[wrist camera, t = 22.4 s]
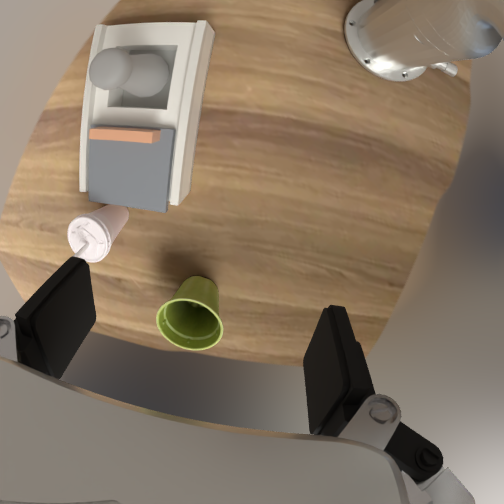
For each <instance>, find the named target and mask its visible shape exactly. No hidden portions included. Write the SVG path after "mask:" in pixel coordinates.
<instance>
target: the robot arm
mask: <svg viewBox="0 0 504 504" xmlns="http://www.w3.org/2000/svg"><path fill="white" fill-rule="evenodd" d="M349 23H351V24H352V26H351V25H350V24H349ZM344 33H345V38H346V42H347V45H348V47H349V49H350V51H351V53H352V54H353V56H354V57H355V59H356V60H357V61H358V62H359V63H360V64H361V65H362V66H363V67H364V68H365V69H366V70H368V71H369V72H371V73H372V74H374V75H375V76H378V77H380V78H382V79H385V80H389V81H397V82H400V81H407V80H412V79H414V78H416V77H418V76H420V75H421V74H422V73H423V72H424V71H425V70H426V68H427V67H430V68H432V69H435V68H438V69H440V70H441V71H442V72H444V73H446V74H448V75H450V76H452V77H454V76H455V75H456V73H457V66H456V65H455V64H453V63H451V61H459V60H467V59H476V58H481V57H484V56H486V55H488V54H490V53H491V52H492V51H493V50H494V49H496V48H497V46H498V45H499V43H500V42H501V40H502V38H503V40H504V0H362V1H360V2H358V3H357V4H356V5H355V6H354V7H353V8H352V9H351V10H350V11H349V13H348V15H347V17H346V20H345V24H344ZM364 60H366V61H367V63H365V62H364ZM402 74H403V75H404V77H403V76H402ZM15 316H16V319H15V320H14V321H13V320H12V319H11V318H9V317H6V316H0V504H475V500H474V498H473V496H472V495H471V493H470V492H469V491H468V490H467V489H466V488H465V486H464V485H463V484H462V483H461V482H460V481H459V480H458V479H457V477H456V476H455V475H454V474H453V473H452V472H451V470H450V469H449V468H448V467H447V468H446V469H444V467H443V466H442V465H443V456H442V453H441V451H440V450H439V448H438V447H437V446H435V445H434V444H433V443H431V442H430V441H428V440H427V439H425V438H424V437H422V436H421V435H419V434H418V433H416V432H415V431H413V430H412V429H410V428H409V427H408V426H406V425H405V424H403V423H402V422H400V419H401V410H400V407H399V405H398V404H397V403H396V402H395V401H394V400H393V399H392V398H390V397H388V396H386V395H382V394H375V391H374V387H373V384H372V380H371V377H370V374H369V370H368V367H367V364H366V360H365V357H364V354H363V351H362V347H361V345H360V343H359V342H357V341H356V340H355V336H354V333H353V330H352V327H351V324H350V321H349V318H348V315H347V312H346V309H345V307H342V306H335V305H330V306H329V307H328V308H324V309H323V312H322V314H321V317H320V319H319V322H318V324H317V327H316V329H315V332H314V334H313V337H312V339H311V341H310V344H309V346H308V349H307V351H306V353H305V356H304V360H303V366H304V375H305V386H306V396H307V406H308V418H309V430H310V434H314V435H310V434H296V433H284V432H274V431H264V430H255V429H247V428H239V427H232V426H225V425H219V424H213V423H207V422H202V421H197V420H192V419H187V418H183V417H178V416H173V415H169V414H165V413H161V412H157V411H153V410H149V409H145V408H141V407H138V406H134V405H131V404H127V403H124V402H120V401H117V400H114V399H111V398H108V397H105V396H102V395H99V394H96V393H93V392H90V391H87V390H85V389H82V388H79V387H76V386H74V385H71V384H69V383H66V382H64V381H61V380H59V379H60V378H61V377H62V375H63V373H64V371H65V370H66V368H67V366H68V365H69V363H70V361H71V360H72V358H73V356H74V355H75V353H76V352H77V350H78V348H79V347H80V345H81V344H82V342H83V340H84V339H85V337H86V336H87V334H88V333H89V331H90V329H91V328H92V326H93V325H94V323H95V321H96V311H95V305H94V299H93V292H92V285H91V277H90V269H89V265H88V264H87V263H86V261H85V259H82V258H78V257H74V256H73V257H70V258H69V259H68V260H67V261H66V262H65V263H64V264H63V265H62V266H61V267H60V268H59V269H58V270H57V271H56V272H55V273H54V274H53V275H52V276H51V277H50V278H49V279H48V280H47V281H46V282H45V283H44V284H43V285H42V286H41V287H40V288H39V289H38V290H37V291H36V292H35V293H34V294H33V295H32V296H31V298H30V299H29V300H28V301H27V302H26V303H25V304H24V305H23V306H22V307H21V308H20V309H19V311H18V312H17V313H16V314H15Z"/></svg>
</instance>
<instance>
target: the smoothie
mask: <svg viewBox="0 0 504 504" xmlns="http://www.w3.org/2000/svg"><path fill="white" fill-rule="evenodd" d="M128 218H129V212H128V209H127V207H125V206H119V205H112V204H109V205H106V206H104V207H102V208H100V209H97V210H95V211H93V212H91V213H88V214H81V215H79V216H77V217H76V218H75V219H74V220H73V221H72V222H71V223H70V225H69V227H68V241H69V244H70V246H71V248H72V250H73V251H74V252H75V254H74V255H73V256H74V257H80V258H82V259H85V261H87V262H98V261H100V260H102V259H103V258H104V257H105V256H106V255H107V254H108V252H109V250H110V247H111V244H112V242H113V241H114V239H115V238H116V236H117V235H118V233H119V232H120V230H121V229H122V228H123V226H124V225H125V223H126V222H127V220H128ZM73 256H72V257H73Z"/></svg>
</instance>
